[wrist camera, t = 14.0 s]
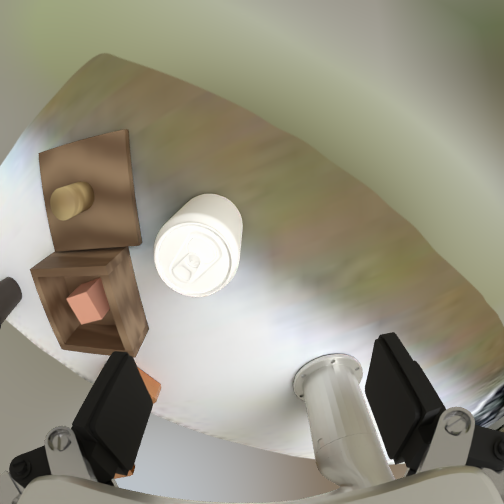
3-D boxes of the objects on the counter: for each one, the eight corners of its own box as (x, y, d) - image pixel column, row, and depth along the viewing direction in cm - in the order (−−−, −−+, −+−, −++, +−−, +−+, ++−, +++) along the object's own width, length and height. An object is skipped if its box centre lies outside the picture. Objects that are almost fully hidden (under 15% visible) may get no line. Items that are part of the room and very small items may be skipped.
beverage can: (256, 220, 35) (258, 257, 24) (216, 265, 38) (202, 316, 26) (205, 179, 34) (182, 197, 22) (167, 228, 36) (133, 266, 25)
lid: (144, 240, 37) (124, 260, 30) (62, 247, 37) (36, 264, 30) (130, 129, 31) (105, 128, 25) (46, 152, 31) (16, 157, 25)
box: (149, 328, 42) (135, 357, 35) (80, 325, 42) (61, 349, 35) (127, 245, 37) (105, 265, 30) (55, 251, 37) (29, 269, 30)
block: (114, 302, 39) (102, 319, 35) (94, 308, 39) (81, 324, 35) (100, 277, 37) (86, 291, 33) (80, 284, 38) (66, 298, 34)
